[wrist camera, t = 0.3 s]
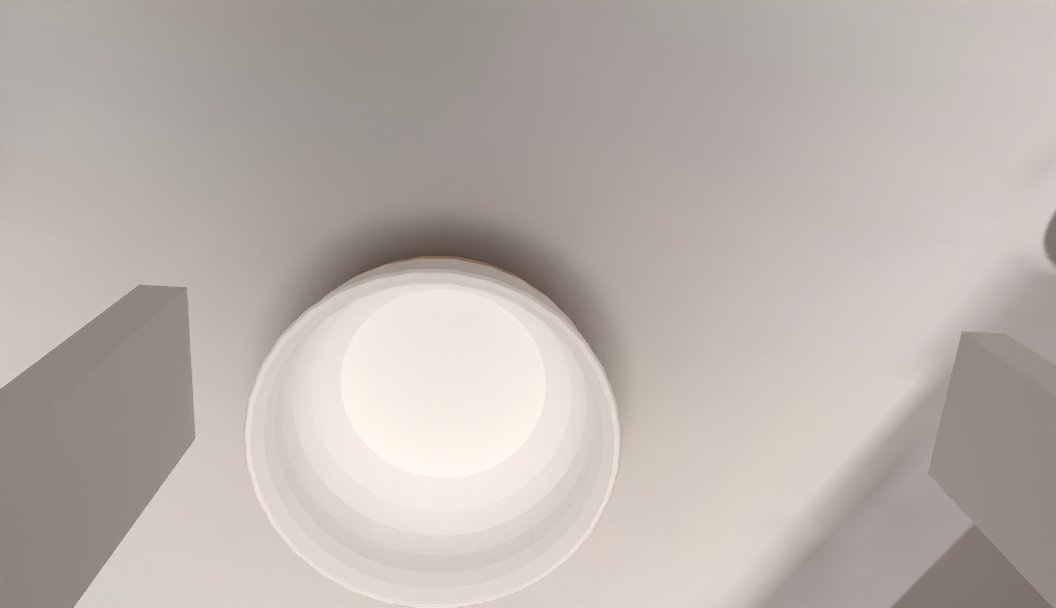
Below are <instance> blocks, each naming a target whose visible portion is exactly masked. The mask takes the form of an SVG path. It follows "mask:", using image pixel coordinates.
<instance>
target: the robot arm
mask: <svg viewBox="0 0 1056 608" xmlns="http://www.w3.org/2000/svg"><path fill="white" fill-rule="evenodd" d="M194 439H195V426H194V408H193V390H192V372H191V354H190V336H189V318H188V300H187V288H185V287H168V286H150V285H139V286H137V287H136V288H135V289H133V290H132V291H131V292H129V293H128V294H127V295H125V296H124V297H123V298H121V299H120V300H119V301H117V302H116V303H115V304H113V305H112V306H111V307H109V308H108V309H107V310H105V311H104V312H103V313H101V314H100V315H99V316H97V317H96V318H95V319H93V320H92V321H91V322H89V323H88V324H87V325H85V326H84V327H83V328H81V329H80V330H79V331H77V332H76V333H75V334H73V335H72V336H71V337H69V338H68V339H67V340H65V341H64V342H63V343H61V344H60V345H59V346H57V347H56V348H55V349H53V350H52V351H51V352H49V353H48V354H47V355H45V356H44V357H43V358H41V359H40V360H39V361H37V362H36V363H35V364H33V365H32V366H31V367H29V368H28V369H27V370H25V371H24V372H23V373H21V374H20V375H19V376H17V377H16V378H15V379H13V380H12V381H11V382H9V383H8V384H7V385H5V386H4V387H3V388H1V389H0V608H73V607H74V606H75V605H76V603H77V602H78V601H79V599H80V598H81V596H82V595H83V594H84V592H85V591H86V589H87V588H88V587H89V585H90V584H91V582H92V581H93V580H94V578H95V577H96V575H97V574H98V573H99V571H100V570H101V569H102V567H103V566H104V564H105V563H106V562H107V560H108V559H109V557H110V556H111V555H112V553H113V552H114V550H115V549H116V548H117V546H118V545H119V543H120V542H121V541H122V539H123V538H124V537H125V535H126V534H127V532H128V531H129V530H130V528H131V527H132V525H133V524H134V523H135V521H136V520H137V518H138V517H139V516H140V514H141V513H142V511H143V510H144V509H145V507H146V506H147V505H148V503H149V502H150V500H151V499H152V498H153V496H154V495H155V493H156V492H157V491H158V489H159V488H160V486H161V485H162V484H163V482H164V481H165V479H166V478H167V477H168V475H169V474H170V473H171V471H172V470H173V468H174V467H175V466H176V464H177V463H178V461H179V460H180V459H181V457H182V456H183V454H184V453H185V452H186V450H187V449H188V447H189V446H190V445H191V443H192V442H193V441H194ZM928 474H929V475H930V476H931V477H932V478H933V479H934V480H935V481H936V483H937V484H938V485H939V486H940V487H941V488H942V489H943V490H944V491H945V492H946V493H947V494H948V495H949V497H950V498H951V499H952V500H953V501H954V502H955V503H956V504H957V505H958V506H959V507H960V508H961V509H962V510H963V512H964V513H965V514H966V515H967V516H968V517H969V518H970V519H971V520H972V521H973V522H974V523H975V524H976V526H977V527H978V528H979V529H980V530H981V531H982V532H983V533H984V534H985V535H986V536H987V537H988V538H989V539H990V540H991V542H993V544H994V545H995V546H996V547H997V548H998V549H999V550H1000V551H1001V552H1002V553H1003V554H1004V556H1005V557H1006V558H1007V559H1008V560H1009V561H1010V562H1011V563H1012V564H1013V565H1014V566H1015V567H1016V569H1017V570H1018V571H1019V572H1020V573H1021V574H1022V575H1023V576H1024V577H1025V578H1026V579H1027V580H1028V581H1029V582H1030V584H1031V585H1032V586H1033V587H1034V588H1035V589H1036V590H1037V591H1038V592H1039V593H1040V594H1041V595H1042V596H1043V597H1044V599H1045V600H1046V601H1047V602H1048V603H1049V604H1050V605H1051V606H1052V607H1053V608H1056V366H1055V365H1054V364H1052V363H1050V362H1049V361H1047V360H1046V359H1044V358H1043V357H1041V356H1039V355H1038V354H1036V353H1035V352H1033V351H1031V350H1030V349H1028V348H1027V347H1025V346H1024V345H1022V344H1020V343H1019V342H1017V341H1016V340H1014V339H1013V338H1011V337H1009V336H1008V335H1006V334H999V333H981V332H964V331H962V334H961V338H960V342H959V346H958V350H957V355H956V359H955V363H954V367H953V371H952V375H951V380H950V384H949V388H948V392H947V396H946V400H945V404H944V409H943V413H942V417H941V421H940V425H939V429H938V434H937V438H936V442H935V446H934V450H933V454H932V459H931V463H930V467H929V471H928Z"/></svg>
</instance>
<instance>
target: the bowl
mask: <svg viewBox="0 0 1056 608" xmlns="http://www.w3.org/2000/svg"><path fill="white" fill-rule="evenodd" d="M621 436H622V434H621V427H620V421H619V414H618V407H617V401H616V399H615V396H614V393H613V391H612V388H611V386H610V383H609V380H608V378H607V375H606V373H605V370H604V368H603V367H602V365H601V364H600V362H599V361H598V359H597V357H596V356H595V354H594V353H593V351H592V350H591V348H590V347H589V345H588V344H587V342H586V341H585V339H584V338H583V337H582V336H581V334H580V333H579V331H578V330H577V328H576V327H575V325H574V323H573V322H572V321H571V320H570V319H569V318H568V317H567V316H566V315H565V314H564V313H563V312H562V311H561V310H560V309H559V308H558V307H557V306H556V305H555V304H554V303H553V302H552V301H551V300H550V299H549V298H548V296H547V295H546V294H545V293H543V292H542V291H540V290H539V289H537V288H536V287H534V286H533V285H531V284H530V283H528V282H527V281H525V280H524V279H522V278H521V277H519V276H518V275H516V274H513V273H511V272H509V271H506V270H504V269H501V268H499V267H497V266H494V265H492V264H490V263H486V262H481V261H477V260H472V259H467V258H462V257H458V256H419V257H413V258H407V259H402V260H396V261H391V262H389V263H386V264H383V265H381V266H378V267H376V268H373V269H370V270H368V271H365V272H362V273H361V274H359V275H357V276H355V277H353V278H352V279H350V280H348V281H347V282H345V283H344V284H342V285H340V286H339V287H337V288H336V289H334V290H333V291H331V292H329V293H328V294H326V295H325V296H324V297H323V298H322V299H321V300H320V301H319V302H318V303H316V304H314V305H313V306H311V307H310V308H308V309H306V310H305V311H304V312H303V313H302V314H301V315H300V316H299V317H298V318H297V319H296V320H295V321H294V322H293V323H292V324H291V325H290V326H289V327H288V328H287V329H286V330H285V331H284V332H283V333H282V334H281V335H280V336H279V338H278V339H277V341H276V342H275V344H274V345H273V347H272V348H271V350H270V351H269V353H268V354H267V356H266V357H265V359H264V360H263V362H262V363H261V365H260V368H259V370H258V373H257V376H256V378H255V381H254V384H253V386H252V389H251V391H250V394H249V397H248V403H247V411H246V418H245V425H244V440H245V453H246V464H247V467H248V471H249V474H250V477H251V480H252V484H253V487H254V490H255V493H256V496H257V498H258V500H259V502H260V504H261V506H262V508H263V509H264V511H265V513H266V515H267V517H268V518H269V520H270V522H271V524H272V526H273V527H274V528H275V530H276V531H277V532H278V533H279V534H280V536H281V537H282V538H283V539H284V540H285V542H286V543H287V544H288V545H289V546H290V547H291V549H292V550H293V551H294V552H295V553H296V554H297V555H298V556H300V557H301V558H302V559H303V560H305V561H306V562H307V563H308V564H309V565H311V566H312V567H313V568H314V569H316V570H317V571H318V572H319V573H320V574H322V575H324V576H326V577H327V578H329V579H331V580H333V581H335V582H336V583H338V584H340V585H342V586H344V587H345V588H347V589H349V590H351V591H354V592H356V593H359V594H362V595H365V596H368V597H371V598H374V599H376V600H379V601H382V602H387V603H392V604H398V605H404V606H410V607H416V608H455V607H461V606H467V605H473V604H479V603H485V602H489V601H491V600H494V599H497V598H500V597H503V596H506V595H509V594H512V593H515V592H518V591H520V590H521V589H523V588H525V587H527V586H529V585H530V584H532V583H534V582H536V581H538V580H539V579H541V578H543V577H545V576H547V575H548V574H549V573H551V572H552V571H553V570H554V569H555V568H557V567H558V566H559V565H560V564H561V563H563V562H564V561H565V560H566V559H568V558H569V557H570V556H571V555H572V554H573V553H574V552H575V551H576V550H577V549H578V547H579V546H580V545H581V544H582V542H583V541H584V540H585V539H586V538H587V536H588V535H589V534H590V533H591V532H592V530H593V529H594V528H595V526H596V525H597V523H598V521H599V519H600V517H601V515H602V513H603V511H604V510H605V508H606V506H607V504H608V502H609V500H610V498H611V495H612V491H613V488H614V484H615V481H616V477H617V474H618V471H619V466H620V451H621Z"/></svg>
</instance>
